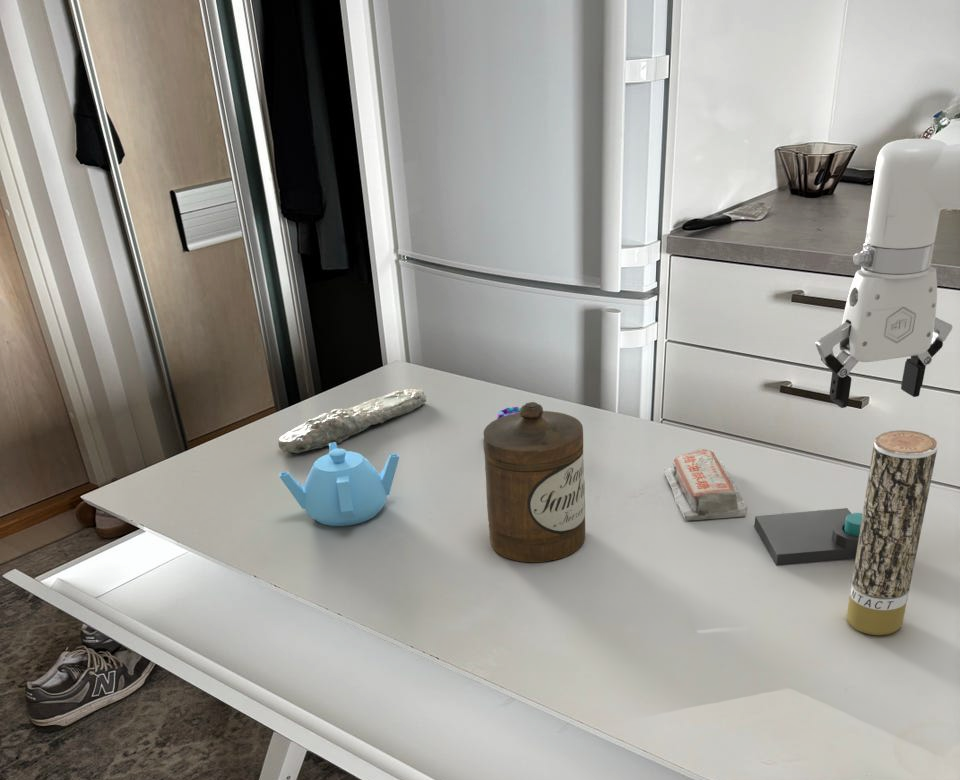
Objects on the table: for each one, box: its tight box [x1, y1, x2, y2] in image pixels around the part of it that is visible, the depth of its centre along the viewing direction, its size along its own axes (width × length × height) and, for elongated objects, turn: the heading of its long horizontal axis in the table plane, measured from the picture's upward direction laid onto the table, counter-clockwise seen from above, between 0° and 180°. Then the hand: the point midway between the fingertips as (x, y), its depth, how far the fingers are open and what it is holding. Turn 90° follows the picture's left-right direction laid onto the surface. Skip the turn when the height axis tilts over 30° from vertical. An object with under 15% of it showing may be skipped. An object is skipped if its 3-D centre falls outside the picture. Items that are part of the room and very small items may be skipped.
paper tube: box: [846, 429, 939, 636], centre depth 119 cm, size 7×7×25 cm
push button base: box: [753, 507, 859, 567], centre depth 143 cm, size 15×13×4 cm
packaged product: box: [663, 448, 748, 521], centre depth 158 cm, size 18×5×10 cm
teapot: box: [278, 442, 400, 527], centre depth 162 cm, size 15×15×11 cm
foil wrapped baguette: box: [277, 388, 427, 454], centre depth 194 cm, size 35×5×10 cm
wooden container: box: [482, 401, 586, 563], centre depth 146 cm, size 15×15×22 cm
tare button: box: [844, 512, 863, 536], centre depth 139 cm, size 4×4×2 cm
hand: (874, 398), depth 124 cm, fingers open, 9 cm apart
